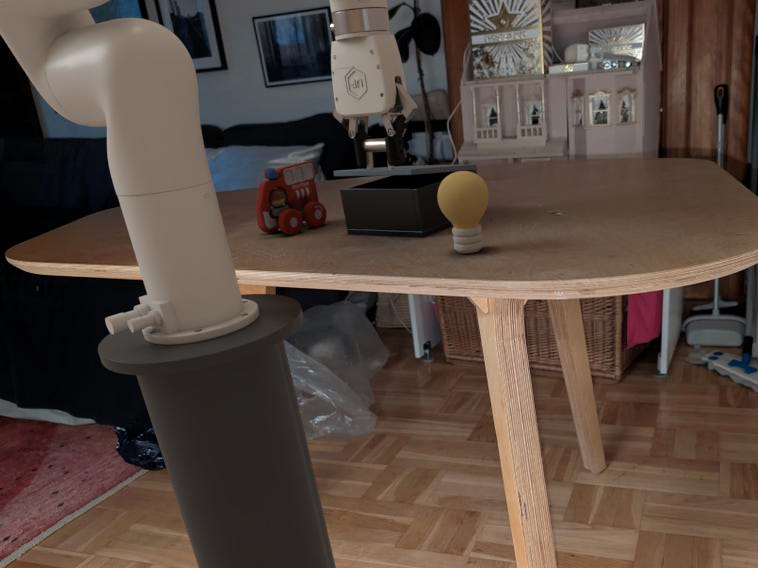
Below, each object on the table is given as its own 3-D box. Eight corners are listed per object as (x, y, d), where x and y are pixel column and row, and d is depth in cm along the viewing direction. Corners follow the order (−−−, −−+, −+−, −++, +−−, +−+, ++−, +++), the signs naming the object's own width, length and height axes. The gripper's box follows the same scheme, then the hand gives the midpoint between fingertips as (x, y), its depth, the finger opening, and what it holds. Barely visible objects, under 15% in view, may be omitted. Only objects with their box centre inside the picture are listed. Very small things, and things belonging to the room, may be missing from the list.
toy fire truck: (250, 238, 113) (234, 172, 109) (308, 220, 122) (296, 159, 118) (277, 240, 109) (262, 172, 105) (336, 222, 118) (324, 158, 114)
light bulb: (489, 256, 86) (481, 173, 82) (439, 259, 87) (428, 177, 83) (497, 243, 92) (490, 165, 88) (450, 246, 93) (441, 169, 89)
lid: (411, 174, 96) (408, 136, 95) (333, 176, 104) (330, 141, 102) (476, 169, 109) (475, 135, 108) (403, 171, 117) (401, 139, 115)
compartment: (423, 237, 100) (416, 189, 97) (347, 234, 108) (339, 189, 105) (481, 213, 112) (476, 169, 109) (409, 212, 119) (403, 171, 117)
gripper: (297, 34, 96) (321, 170, 103) (393, 18, 87) (412, 167, 94) (335, 34, 102) (355, 162, 109) (428, 18, 93) (444, 159, 100)
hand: (381, 163), depth 101 cm, fingers closed on lid, 5 cm apart
